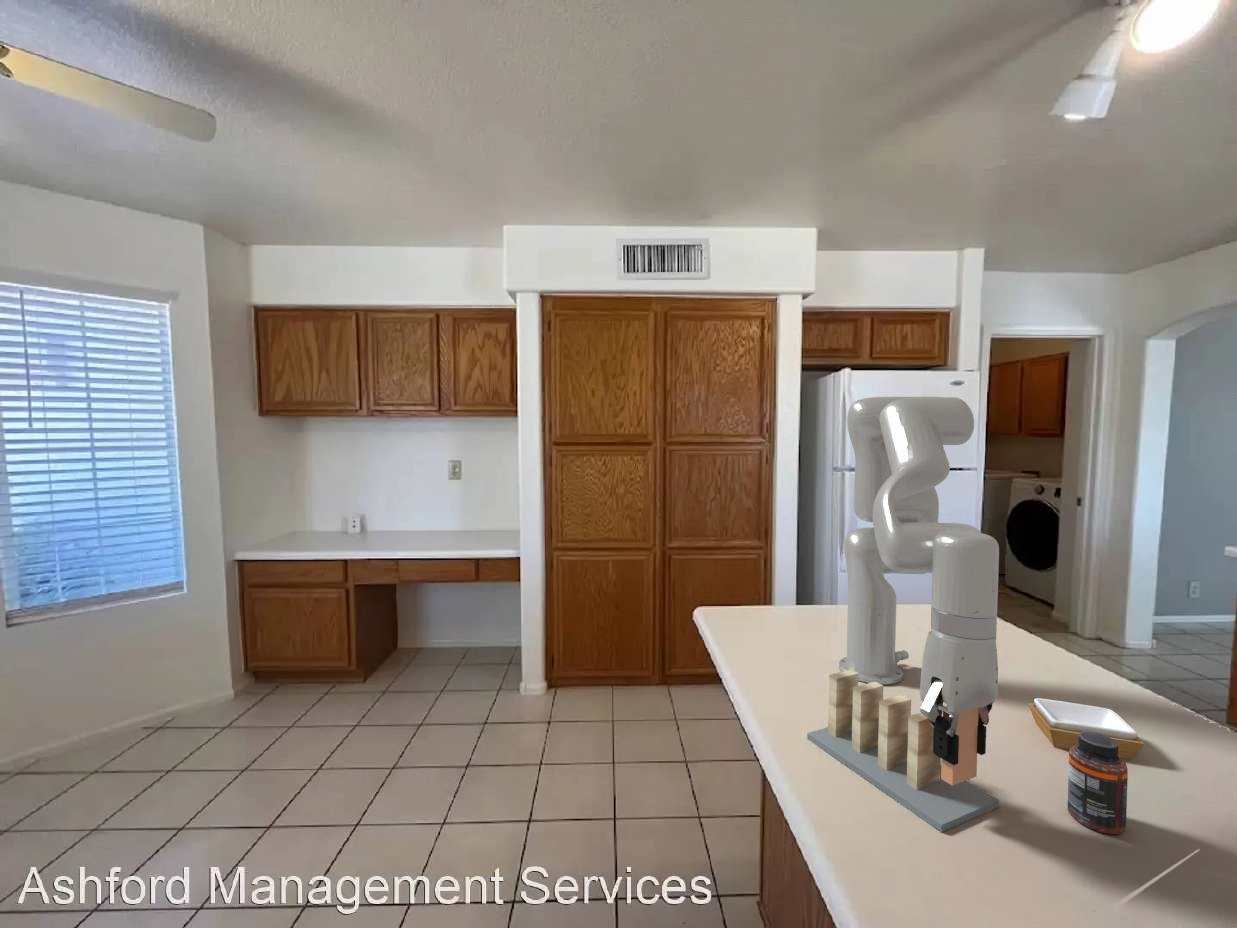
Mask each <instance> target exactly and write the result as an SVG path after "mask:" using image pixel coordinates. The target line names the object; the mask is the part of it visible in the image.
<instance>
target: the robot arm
mask: <svg viewBox="0 0 1237 928" xmlns="http://www.w3.org/2000/svg"><path fill="white" fill-rule="evenodd" d="M846 421H847V423H846V424H847V432H848V435H849V439H850V442H851V445H852V448H853V453H854V461H855V463H854V485H853V487H854V488H853V507H854V513H855V515H856V517H857V518H858V519H860V520H862V521H865V522H868V523H869V522H870V523H872V526H873V527H858V528H856V529H855V528H854V529H852V530H851V531H850V532H848V534H847V535H846V537H845V540H844V555H845V556H844V557H845V561H846V569H847V618H846V619H847V623H846V625H847V626H846V627H847V629H846V656H845V657H843V658H841V659H840V660H839V661H838V669H839V670H840V672H844V671H848V670H853V671H855V672H857V673H858V682H862V683H865V684H868V683H872V682H877V683H879V684H881V685H883V686H886V685H895V684H897V683H900V682H901V681H902V680H903V677H904V673H903V670H902V669H901V668H900V667H899V666H898V663H899V662H901V661H904V660H908V659H909V653H908V651H906V650H905V649H903V650H902V649H901V650H899V651H896V636H897V635H896V634H897V633H896V630H897V594H896V593H897V592H896V590H895V589H894V587H893V586H892V585H891V584H890V583H889V581H888V580H887V579H886V578H885V575H887V574H891V575H892V574H900V575H924V574H932V576H931V602H930V603H931V604H930V605H931V610H930V611H931V612H930V630H929V631H928V633H927V637H926V640H925V644H924V648H923V649H924V650H923V655H922V663H921V671H920V672H921V673H920V684H919V685H920V686H919V687H920V688H919V697H920V700H921V701H923V703H922V704H921V706H920V708H919V709H920V710H919V711H920V712H919V713H922V714H923V715H924V716H925V717H926V718H927V719H928V720H929V721H930V722H931V726H932V727H934V732H933V753H934V754H935V755H936V756H938V757H940V758H941V760H942V759H943V760H945V761H947V762H949V763H951V764H952V765H956V764H958V755H959V736H958V735H956V734H955V733H956V728H957V723H958V719H959V714H960V713H963V712H966V711H970V710H973V709H976V708H978V711H979V712H978V730H977V755H979V756H983V755H985V754H986V751H987V750H986V749H987V726H988V724H989V723H990V712H991V710H992V709H993V704H994V702H995V701H996V700H997V698H998V697H999V694H1000V693H999V690H998V689H999V688H998V686H999V664H998V663H999V662H998V659H999V658H998V648H997V631H998V625H997V624H998V600H999V599H998V598H999V597H998V595H999V568H1000V566H999V563H1000V546H999V543H998V541H997V539H995V537H993V536H991V535H988V534H986V533H982V532H981V531H980V530H979V529H978V528H976V526H973V525H971V524H967V523H956V522H955V523H954V522H951V523H950V522H939V513H940V509H939V508H940V504H939V495H938V493H937V490H936V486H938V485H940V484H941V483H942V482H944V480H946V479H947V477H948V475H949V474H950V471H951V470H950V469H951V465H950V462H949V459H948V457H947V454H946V451H945V448H944V446H960V445H963V444H964V445H965V444H966V443H967V442H968V441H969V440H970V439H971V437H972V435H973V433H974V429H975V417H974V414H973V411H972V409H971V407H970V406H969V404H968V403H966V401H964V400H963V399H961V398H959V397H956V396H955V397H952V396H951V397H950V396H949V397H945V396H944V397H943V396H875V397H874V396H873V397H872V396H871V397H865V398H861V399H857V400H855V401H854V402H852V404H851V405H850V406H849V409H848V411H847V420H846ZM944 704H946V705H944ZM946 706H947V707H946ZM943 712H945V713H947V714H949V719H948V722H947V721H946V719H945V718H944V717H943Z"/></svg>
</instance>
